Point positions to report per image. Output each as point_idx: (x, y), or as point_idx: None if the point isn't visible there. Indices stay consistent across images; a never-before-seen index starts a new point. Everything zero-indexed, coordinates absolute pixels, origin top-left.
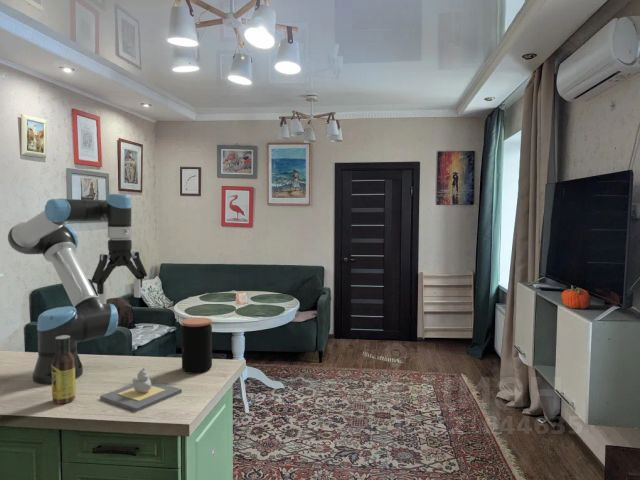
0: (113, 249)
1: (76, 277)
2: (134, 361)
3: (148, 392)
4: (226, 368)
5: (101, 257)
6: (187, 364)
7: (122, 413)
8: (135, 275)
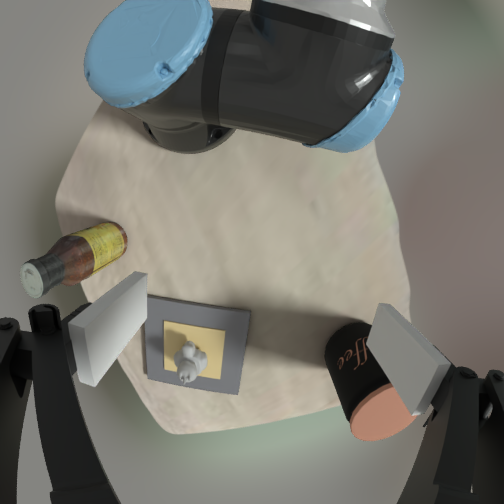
0: None
1: None
2: (350, 184)
3: None
4: None
5: None
6: (327, 358)
7: (135, 361)
8: (442, 407)
